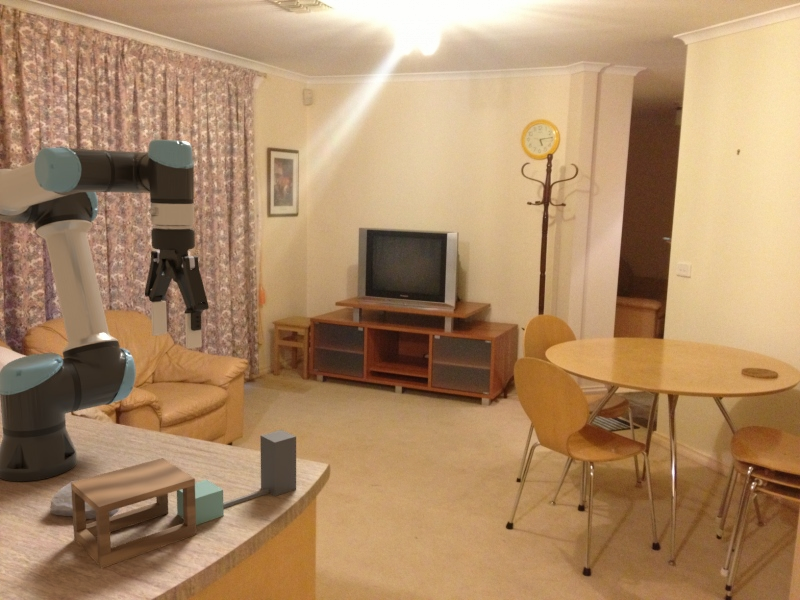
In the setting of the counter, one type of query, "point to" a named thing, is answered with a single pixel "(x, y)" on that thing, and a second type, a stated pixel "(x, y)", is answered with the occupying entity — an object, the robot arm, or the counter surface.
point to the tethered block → (274, 478)
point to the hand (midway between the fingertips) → (176, 341)
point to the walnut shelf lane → (125, 491)
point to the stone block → (70, 504)
